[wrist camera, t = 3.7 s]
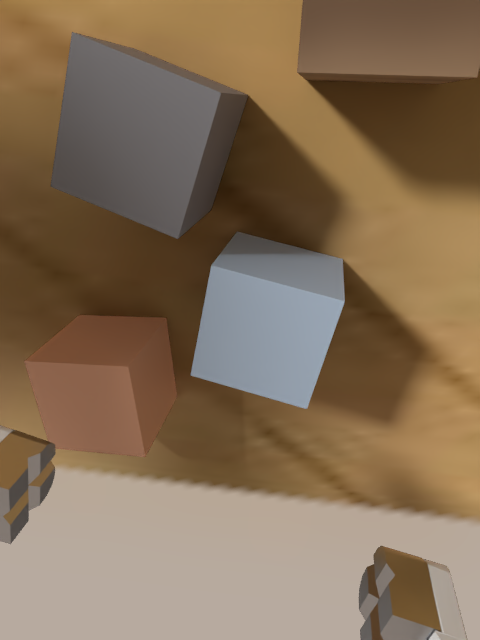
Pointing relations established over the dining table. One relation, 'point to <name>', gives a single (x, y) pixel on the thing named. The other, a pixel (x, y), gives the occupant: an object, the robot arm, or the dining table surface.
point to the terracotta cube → (105, 383)
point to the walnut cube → (390, 40)
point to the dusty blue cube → (268, 318)
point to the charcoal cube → (142, 135)
